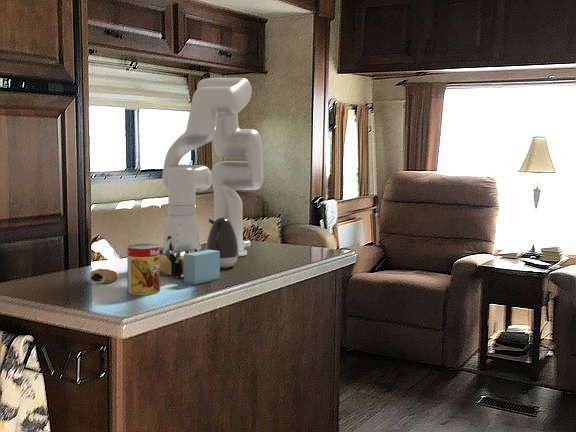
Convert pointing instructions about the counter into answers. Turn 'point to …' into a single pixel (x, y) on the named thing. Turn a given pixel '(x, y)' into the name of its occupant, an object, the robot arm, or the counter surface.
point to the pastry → (101, 276)
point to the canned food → (143, 269)
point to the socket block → (201, 267)
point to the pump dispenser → (223, 241)
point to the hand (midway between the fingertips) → (182, 274)
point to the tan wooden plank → (169, 263)
